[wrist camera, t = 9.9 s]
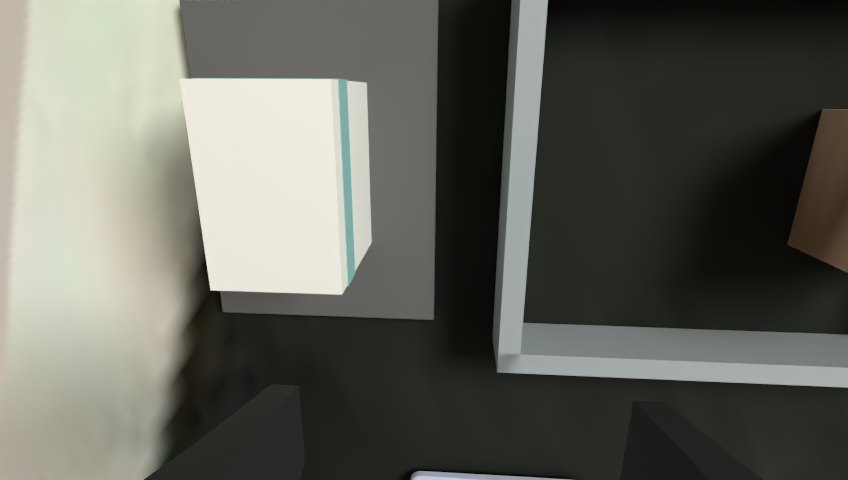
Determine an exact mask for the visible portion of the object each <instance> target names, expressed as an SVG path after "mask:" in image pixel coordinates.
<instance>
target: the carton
mask: <svg viewBox="0 0 848 480" xmlns="http://www.w3.org/2000/svg"><path fill="white" fill-rule="evenodd" d="M180 85H181V92H182V99H183V106H184V112H185V119H186V126H187V133H188V140H189V147H190V153H191V160H192V167H193V174H194V181H195V188H196V195H197V201H198V208H199V215H200V222H201V229H202V236H203V243H204V249H205V256H206V263H207V270H208V277H209V284H210V290H214V291H244V292H275V293H305V294H335V295H342V294H343V292H344V291H345V289H346V287H347V286H349V284H350V283H351V281H352V279H353V277H354V275H355V271H356V269H357V268H358V266H359V264H360V262H361V260H362V259H363V257H364V255H365V253H366V252H367V250H368V248H369V246H370V244H371V243H372V237H371V204H370V171H369V138H368V105H367V83H366V82H355V81H347V79H307V78H193V79H180Z"/></svg>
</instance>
